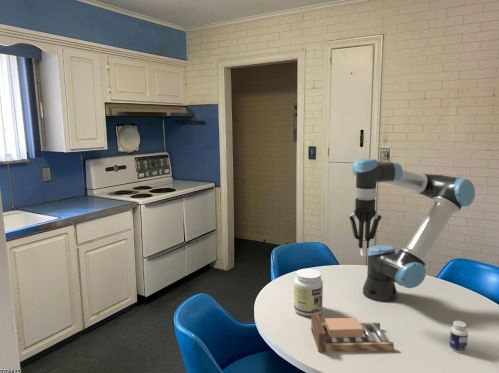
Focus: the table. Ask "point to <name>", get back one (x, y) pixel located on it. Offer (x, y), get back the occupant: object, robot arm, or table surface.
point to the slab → (343, 327)
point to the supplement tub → (308, 292)
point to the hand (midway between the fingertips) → (363, 255)
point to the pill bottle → (458, 337)
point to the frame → (322, 346)
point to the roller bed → (366, 334)
